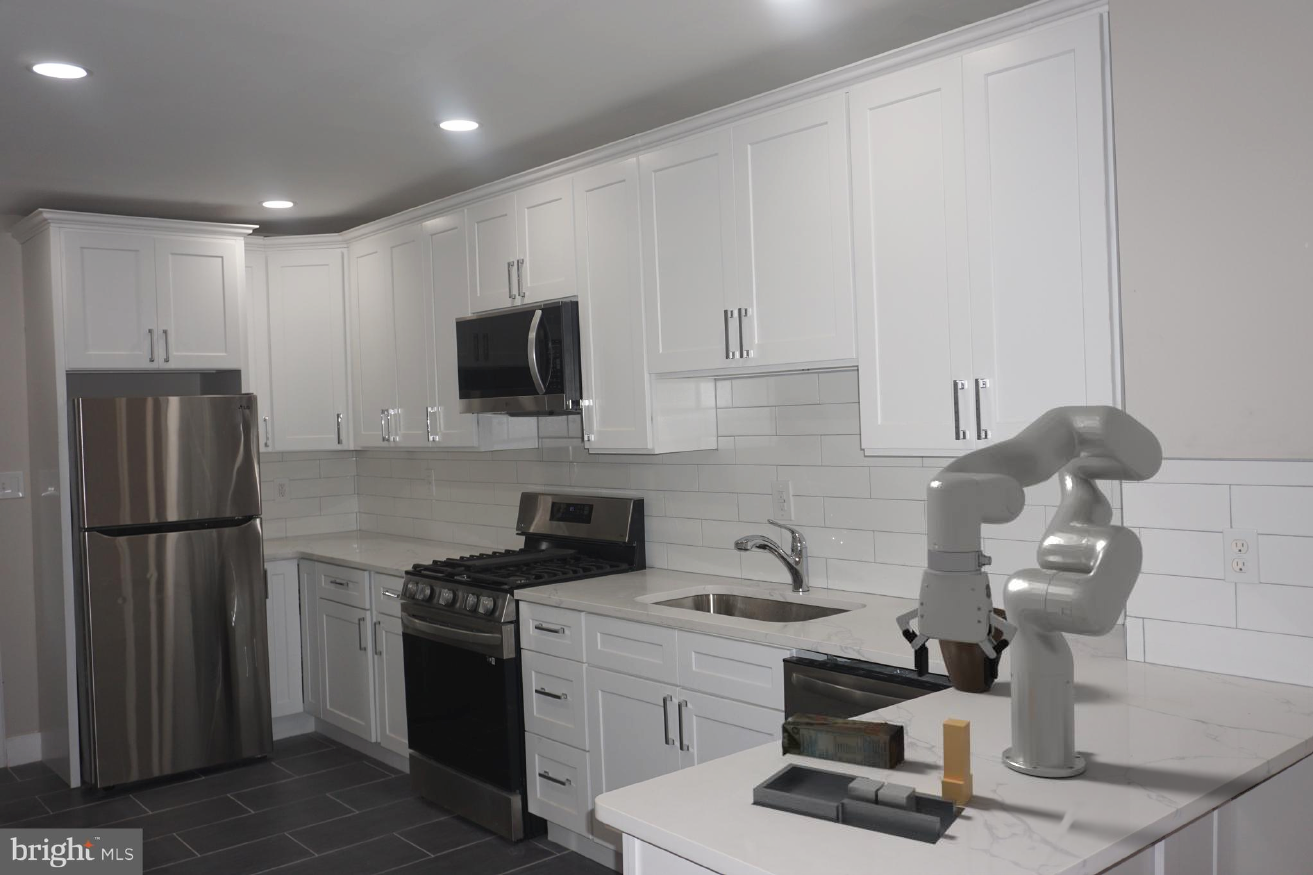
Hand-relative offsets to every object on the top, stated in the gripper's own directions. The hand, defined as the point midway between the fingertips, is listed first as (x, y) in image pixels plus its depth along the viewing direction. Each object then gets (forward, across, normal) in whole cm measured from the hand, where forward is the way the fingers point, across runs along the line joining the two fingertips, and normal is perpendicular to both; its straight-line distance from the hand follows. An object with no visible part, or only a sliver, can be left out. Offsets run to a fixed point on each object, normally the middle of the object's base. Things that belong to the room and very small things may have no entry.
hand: (955, 679), depth 145 cm
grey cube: (+18, +6, +10) cm, 21 cm away
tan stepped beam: (+18, 0, 0) cm, 18 cm away
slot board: (+18, +12, +10) cm, 24 cm away
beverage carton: (+19, +22, -10) cm, 31 cm away
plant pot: (+18, +16, -64) cm, 68 cm away
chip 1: (+18, +10, +10) cm, 22 cm away
